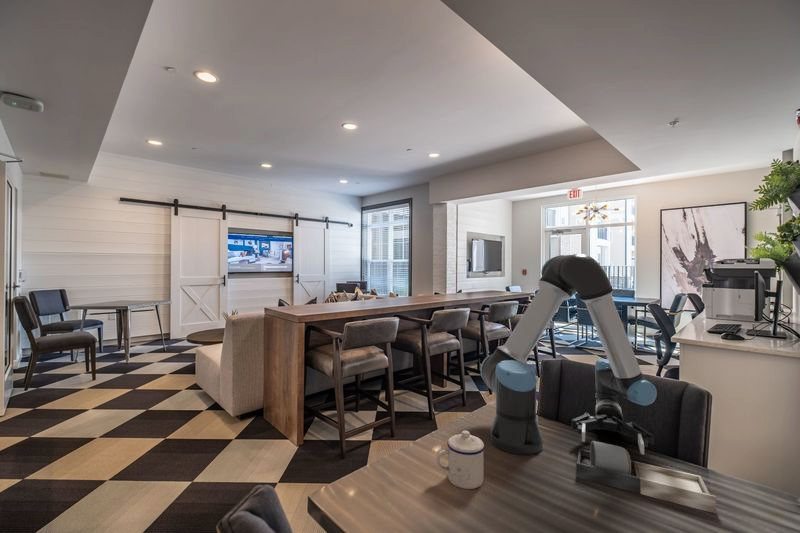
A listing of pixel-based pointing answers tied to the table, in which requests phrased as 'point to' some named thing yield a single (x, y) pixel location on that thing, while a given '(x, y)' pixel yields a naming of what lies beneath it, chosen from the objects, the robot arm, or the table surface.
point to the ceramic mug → (610, 457)
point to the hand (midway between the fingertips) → (611, 442)
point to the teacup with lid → (464, 460)
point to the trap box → (653, 483)
